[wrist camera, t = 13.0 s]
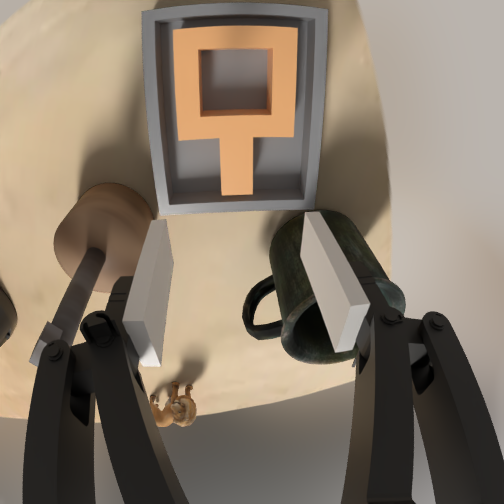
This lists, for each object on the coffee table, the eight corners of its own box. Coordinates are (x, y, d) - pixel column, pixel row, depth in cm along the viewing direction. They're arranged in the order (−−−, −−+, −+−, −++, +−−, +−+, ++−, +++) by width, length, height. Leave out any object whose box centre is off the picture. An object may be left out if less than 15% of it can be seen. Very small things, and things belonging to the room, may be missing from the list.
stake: (126, 269, 33) (88, 406, 19) (64, 226, 29) (-9, 351, 15) (171, 218, 30) (137, 369, 16) (101, 165, 26) (4, 290, 12)
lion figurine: (176, 369, 46) (173, 418, 39) (204, 378, 49) (204, 425, 41) (145, 399, 53) (141, 439, 45) (169, 406, 55) (167, 445, 48)
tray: (165, 200, 29) (159, 215, 27) (150, 16, 18) (141, 11, 16) (306, 195, 30) (314, 209, 28) (317, 13, 19) (328, 9, 17)
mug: (365, 264, 36) (405, 338, 26) (256, 303, 38) (267, 386, 29) (351, 188, 30) (406, 259, 20) (220, 236, 32) (220, 325, 22)
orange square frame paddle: (284, 179, 28) (290, 193, 26) (187, 183, 28) (183, 197, 25) (289, 31, 20) (297, 28, 18) (178, 33, 19) (173, 29, 17)
